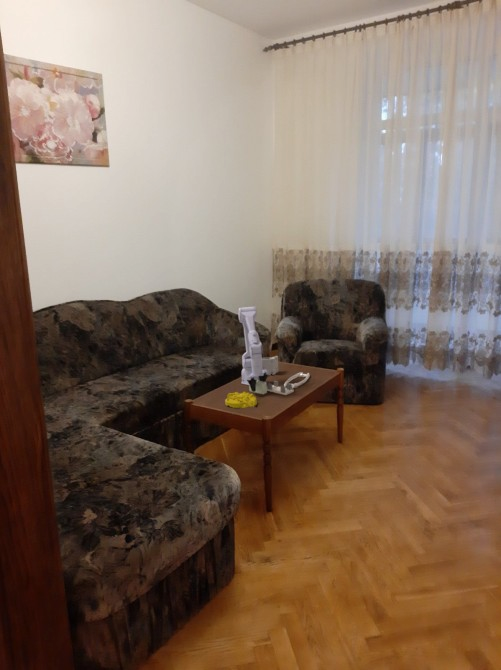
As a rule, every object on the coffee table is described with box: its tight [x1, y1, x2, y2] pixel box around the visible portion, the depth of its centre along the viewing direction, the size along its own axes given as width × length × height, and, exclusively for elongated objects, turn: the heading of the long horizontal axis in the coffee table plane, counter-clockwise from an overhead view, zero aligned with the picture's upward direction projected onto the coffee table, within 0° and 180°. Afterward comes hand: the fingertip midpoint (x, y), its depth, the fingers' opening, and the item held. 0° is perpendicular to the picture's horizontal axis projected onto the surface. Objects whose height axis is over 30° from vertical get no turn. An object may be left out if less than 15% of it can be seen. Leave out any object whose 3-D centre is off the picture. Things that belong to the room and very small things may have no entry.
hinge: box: [262, 355, 279, 376], centre depth 301 cm, size 14×5×10 cm, turn 105°
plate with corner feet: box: [267, 380, 295, 396], centre depth 271 cm, size 14×7×4 cm, turn 48°
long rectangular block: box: [248, 380, 268, 395], centre depth 271 cm, size 10×3×6 cm, turn 48°
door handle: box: [283, 371, 310, 390], centre depth 285 cm, size 3×10×25 cm
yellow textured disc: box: [224, 391, 258, 409], centre depth 257 cm, size 17×16×4 cm
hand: (258, 389), depth 271 cm, fingers open, 7 cm apart
